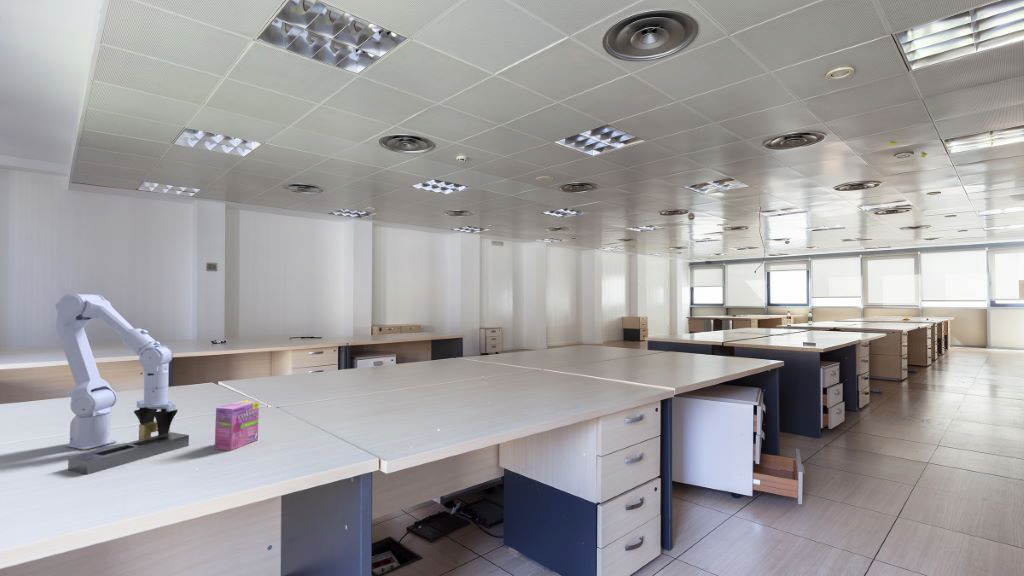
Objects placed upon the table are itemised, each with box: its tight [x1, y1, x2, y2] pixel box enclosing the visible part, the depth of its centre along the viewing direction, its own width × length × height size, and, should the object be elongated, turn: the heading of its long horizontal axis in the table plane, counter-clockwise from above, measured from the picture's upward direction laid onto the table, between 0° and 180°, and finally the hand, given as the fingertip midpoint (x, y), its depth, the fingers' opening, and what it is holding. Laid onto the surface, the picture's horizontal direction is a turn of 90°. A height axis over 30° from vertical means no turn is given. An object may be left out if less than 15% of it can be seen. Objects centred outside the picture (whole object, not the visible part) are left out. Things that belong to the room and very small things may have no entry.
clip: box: [138, 420, 171, 440], centre depth 135 cm, size 2×7×6 cm, turn 159°
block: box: [67, 431, 190, 475], centre depth 123 cm, size 8×24×3 cm, turn 159°
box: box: [214, 399, 260, 452], centre depth 134 cm, size 10×6×12 cm, turn 168°
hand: (155, 433), depth 135 cm, fingers open, 7 cm apart
